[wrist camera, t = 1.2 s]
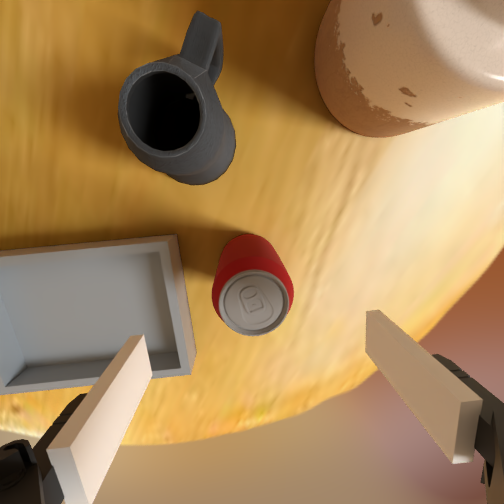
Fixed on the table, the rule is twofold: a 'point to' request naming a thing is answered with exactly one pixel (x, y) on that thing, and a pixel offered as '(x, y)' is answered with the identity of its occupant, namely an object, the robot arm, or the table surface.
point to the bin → (91, 311)
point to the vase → (409, 62)
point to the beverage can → (251, 286)
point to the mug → (180, 109)
